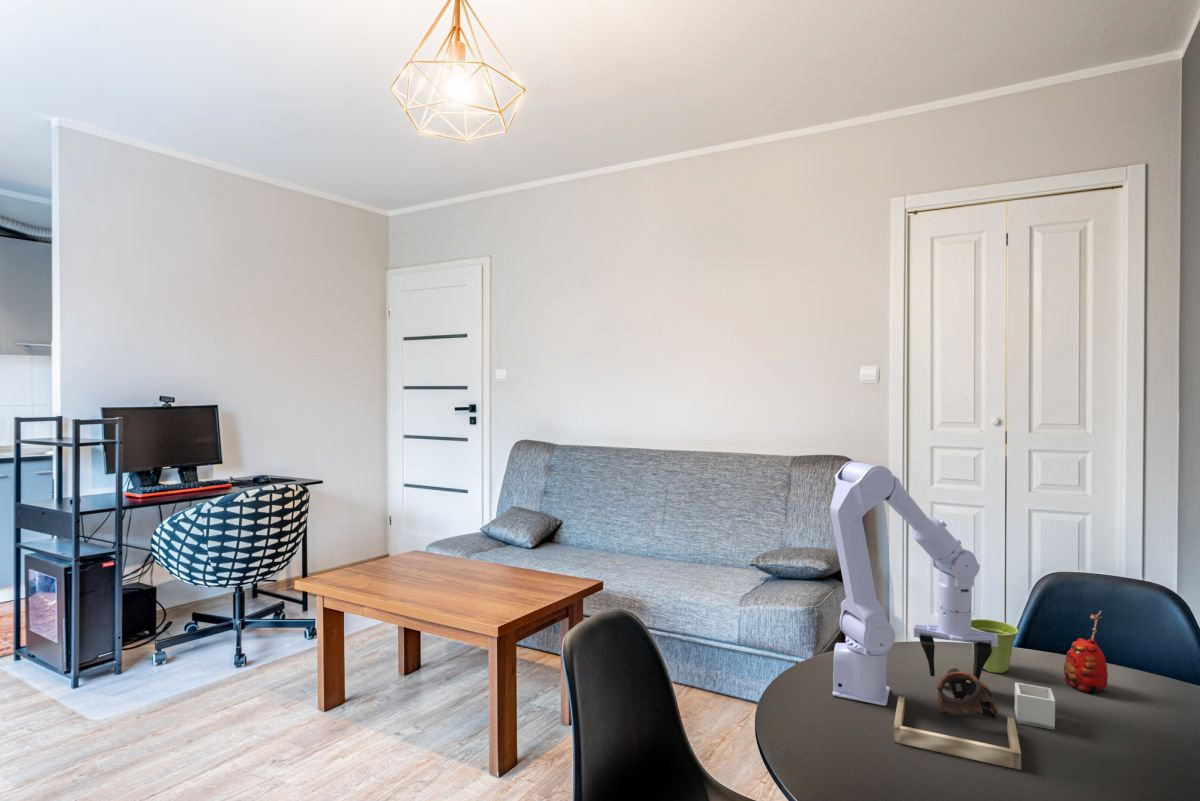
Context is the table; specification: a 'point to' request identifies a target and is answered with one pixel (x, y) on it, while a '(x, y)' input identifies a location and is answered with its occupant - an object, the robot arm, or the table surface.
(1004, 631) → the plant pot
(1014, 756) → the birch bay
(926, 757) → the table surface
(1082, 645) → the red clay folk toy
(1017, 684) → the white square open box
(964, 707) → the brown hollow curved piece
